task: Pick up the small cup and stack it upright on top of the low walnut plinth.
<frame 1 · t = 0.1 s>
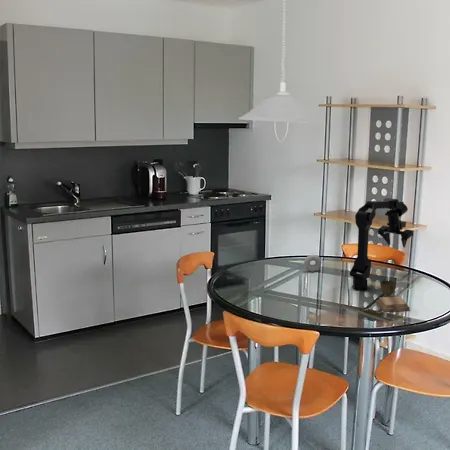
hand: (396, 246, 318), 15 cm above the table, tool pointing down, fingers open, 9 cm apart
cup: (387, 297, 284), on the table
donut: (312, 271, 330), on the table
plinth: (392, 306, 272), on the table
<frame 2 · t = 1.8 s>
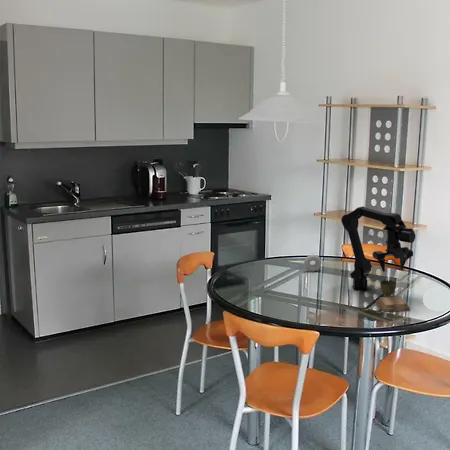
hand: (392, 271, 282), 13 cm above the table, tool pointing down, fingers open, 9 cm apart
nothing on the table moved.
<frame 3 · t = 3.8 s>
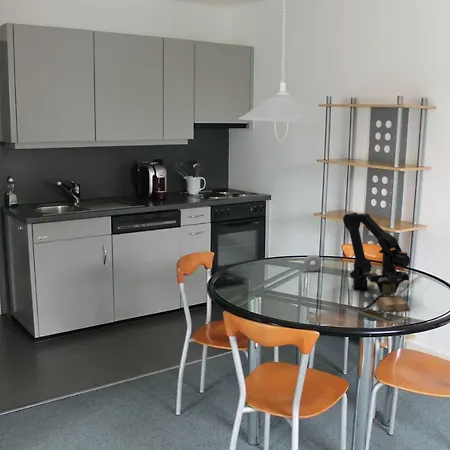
hand: (387, 293, 284), 2 cm above the table, tool pointing down, fingers closed on cup, 6 cm apart
cup: (387, 297, 284), on the table, touching gripper
everything else where it was.
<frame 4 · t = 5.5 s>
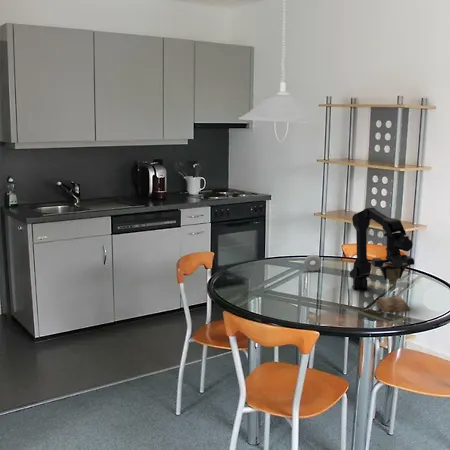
hand: (392, 279, 272), 12 cm above the table, tool pointing down, fingers closed on cup, 6 cm apart
cup: (392, 283, 272), point 10 cm above the table, touching gripper
everything else where it was.
when the fingers open (6 cm above the table, at t = 7.3 s): cup drops 1 cm, resting on plinth.
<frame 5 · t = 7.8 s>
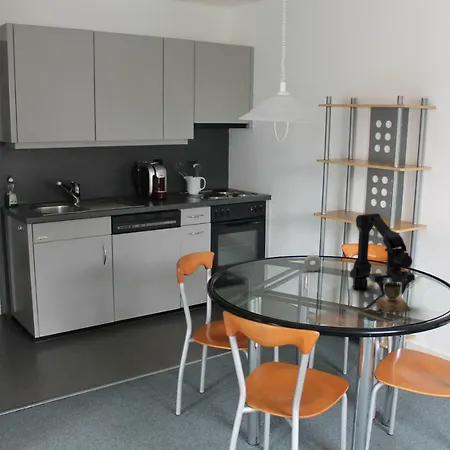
hand: (392, 294, 270), 6 cm above the table, tool pointing down, fingers open, 9 cm apart
cup: (392, 300, 271), point 3 cm above the table, touching plinth
everything else where it was.
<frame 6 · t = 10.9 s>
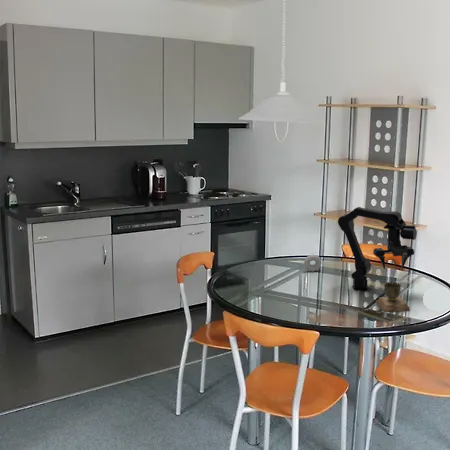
hand: (393, 268, 286), 13 cm above the table, tool pointing down, fingers open, 9 cm apart
nothing on the table moved.
at the end: cup inside the target area on the plinth (0.2 cm from its centre), point 2.8 cm above the plinth's base; cup tilted 0°; the gripper is holding nothing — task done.
